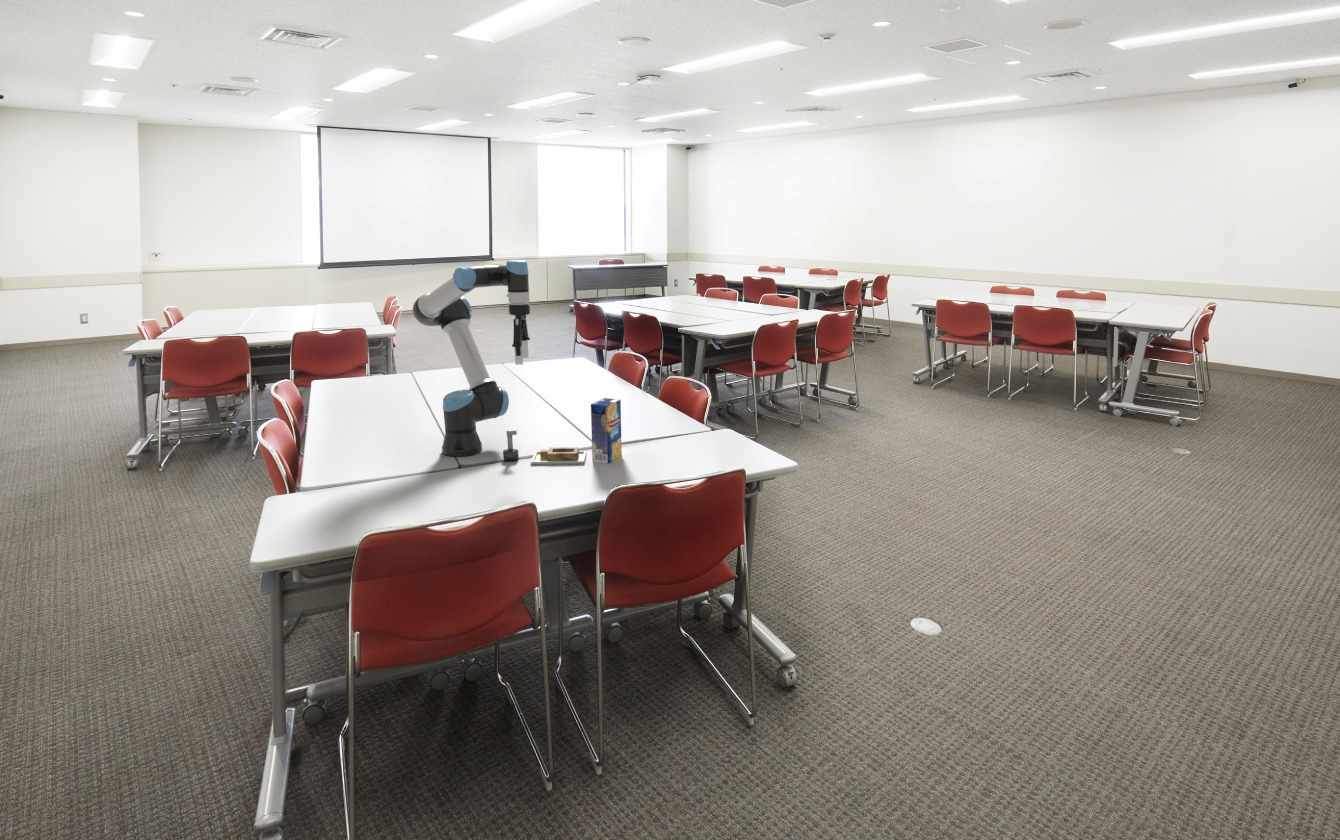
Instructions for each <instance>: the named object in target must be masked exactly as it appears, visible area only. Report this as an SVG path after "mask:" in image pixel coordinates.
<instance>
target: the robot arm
mask: <svg viewBox="0 0 1340 840" xmlns="http://www.w3.org/2000/svg"><path fill="white" fill-rule="evenodd" d="M529 285H530V283H529V268H528V262H527V261H526V260H523V259H521V260H520V259H519V260H518V259H515V260H514V259H513V260H512V259H511V260H507V261H506V264H505V265H503V264H498V263H496V264H489V265H475V266H473V265H472V266H471V265H470V266H468V265H467V266H466V265H465V266H460V267H457V268H456V269H454V272H453V274H452V277H451V278H450V279H448V280H446V281H445V282H443V284H441V285H440V286H438V287H437V288H436V289H433V291H431V292H430V293H424V294H423V295H421V296H419V297H418V298H417V299H416V300H415V301H414V303H413V305H412V314H413V316H414V318H415V320H417V322H419V324H422V325H423V326H428V327H436V326H437V327H438V326H440V328H441V330H442V332H443V333H444V334H447V335H448V337H449V340H450V341H451V344H452V346H453V347H452V348H453V349H454V352H455V354H456V356H457V359H458V361H459V364H460V366H461V369H462V372H463V373H464V376H465V378H466V381H467V383H468V386H469V388H468V389H462V390H459V389H458V390H454V391H451V392H448V393H447V394H446V395H444V397H443V399H442V409H443V419H444V437H443V443H442V446H441V453H442V455H444V456H447V457H458V458H459V457H461V458H462V457H468V456H473V455H477V454H479V453H481V452H482V451H483V444H482V441H481V438H480V436H479V434H478V431H477V423H478V422H482V421H486V420H491V419H497V418H499V417H503V416H504V415H505V414H506V413H507V412H508V409H509V406H510V399H509V394H508V392H507V390H506V389H505V388H504V387H501V386H498V384H497V382H496V380H494V379H491V377H490V375H489V372H488V371H487V367H486V365H485V363H484V360H483V358H482V355H481V353H480V350H479V349H478V346H477V344H476V341H475V340H474V337H473V334H472V332H471V329H470V327H469V326H470V324H471V319H472V317H473V313H472V306H471V304H470V302H469V300H468V299H467V298H466V297H465V295H467V294H468V293H470V292H471V291H473V290H474V289H477V288H487V287H499V286H500V287H507V292H508V294H506V297H507V298H508V303H509V304H508V314H509V315H510V316H514V317H515V318H513V321H512V322H513V336H512V337H513V339H512V341H513V342H512V343H513V344H512V345H511V346H512V348H514V363H515V366H516V365H517V366H518V365H520V366H521V365H524V359H527V358H528V359H529V357H530V356H529V341H530V339H531V337H530V336H529V331H528V325H527V316H528V315H530V314H531V307H530V304H529V303H530V300H531V299H530V287H529Z"/></svg>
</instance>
